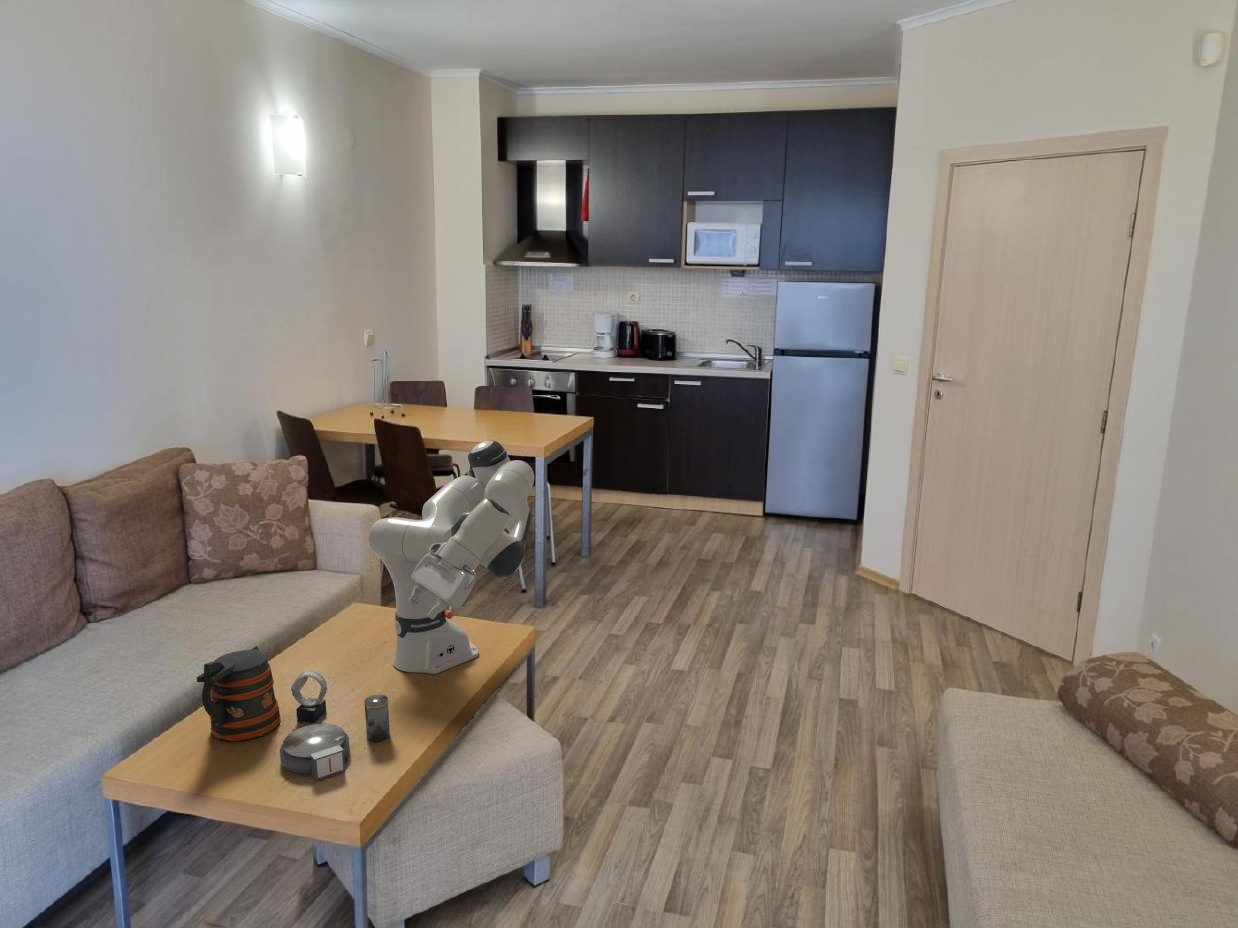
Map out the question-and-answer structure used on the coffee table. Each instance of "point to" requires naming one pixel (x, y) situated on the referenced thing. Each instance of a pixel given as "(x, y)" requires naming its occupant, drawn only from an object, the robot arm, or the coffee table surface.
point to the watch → (311, 706)
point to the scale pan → (313, 740)
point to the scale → (318, 762)
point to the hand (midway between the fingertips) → (419, 610)
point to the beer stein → (240, 695)
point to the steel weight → (377, 718)
